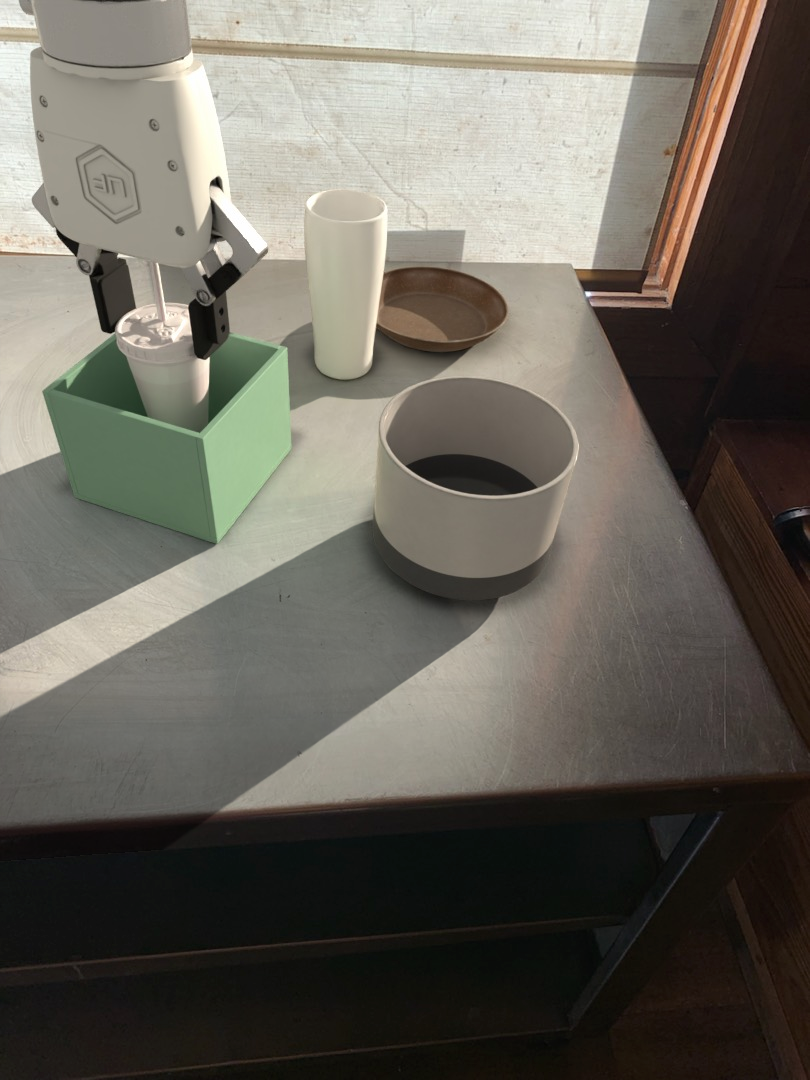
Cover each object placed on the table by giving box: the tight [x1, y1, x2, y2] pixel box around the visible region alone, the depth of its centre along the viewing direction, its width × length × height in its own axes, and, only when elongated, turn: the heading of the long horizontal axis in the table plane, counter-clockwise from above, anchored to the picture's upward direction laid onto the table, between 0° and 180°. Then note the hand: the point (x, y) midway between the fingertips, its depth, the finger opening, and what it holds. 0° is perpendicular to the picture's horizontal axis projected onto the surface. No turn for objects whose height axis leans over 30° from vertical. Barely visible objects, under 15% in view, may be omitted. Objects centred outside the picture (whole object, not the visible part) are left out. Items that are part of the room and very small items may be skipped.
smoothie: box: [114, 261, 210, 433], centre depth 54 cm, size 6×6×14 cm
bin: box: [42, 331, 292, 545], centre depth 58 cm, size 12×12×10 cm
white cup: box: [303, 188, 388, 381], centre depth 68 cm, size 7×7×15 cm
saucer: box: [376, 265, 509, 353], centre depth 79 cm, size 15×15×3 cm
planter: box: [372, 375, 579, 601], centre depth 54 cm, size 13×13×10 cm
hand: (165, 334), depth 53 cm, fingers closed on smoothie, 6 cm apart
